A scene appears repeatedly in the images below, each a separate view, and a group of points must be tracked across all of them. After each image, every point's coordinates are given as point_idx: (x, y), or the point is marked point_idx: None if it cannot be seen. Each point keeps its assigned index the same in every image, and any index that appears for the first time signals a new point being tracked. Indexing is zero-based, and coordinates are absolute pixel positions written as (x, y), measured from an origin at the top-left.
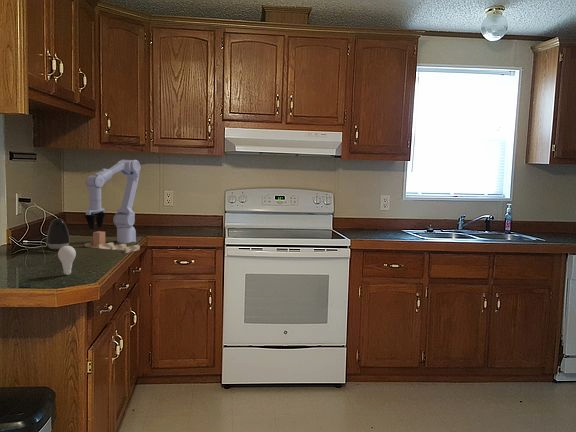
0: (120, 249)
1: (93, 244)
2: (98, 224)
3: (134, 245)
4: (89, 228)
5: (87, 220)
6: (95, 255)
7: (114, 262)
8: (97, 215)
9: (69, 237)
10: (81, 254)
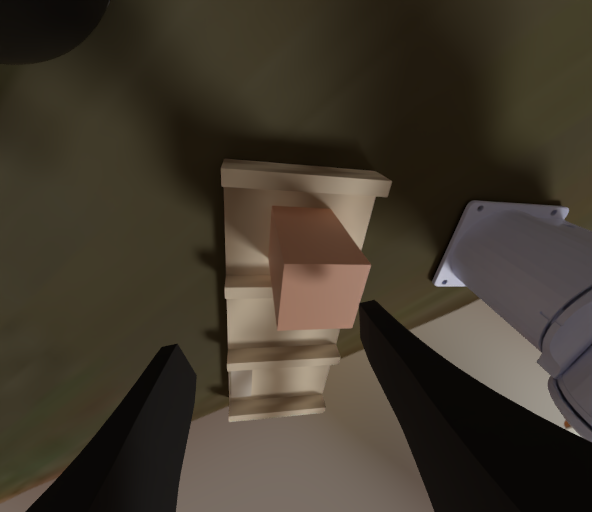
0: (238, 385)
1: (273, 212)
2: (374, 340)
3: (298, 411)
4: (155, 355)
5: (52, 500)
6: (91, 358)
7: (48, 470)
8: (466, 498)
9: (45, 19)
10: (48, 291)
